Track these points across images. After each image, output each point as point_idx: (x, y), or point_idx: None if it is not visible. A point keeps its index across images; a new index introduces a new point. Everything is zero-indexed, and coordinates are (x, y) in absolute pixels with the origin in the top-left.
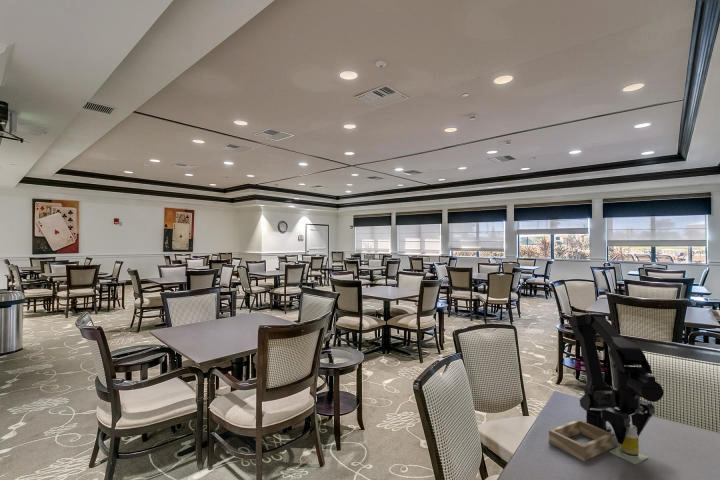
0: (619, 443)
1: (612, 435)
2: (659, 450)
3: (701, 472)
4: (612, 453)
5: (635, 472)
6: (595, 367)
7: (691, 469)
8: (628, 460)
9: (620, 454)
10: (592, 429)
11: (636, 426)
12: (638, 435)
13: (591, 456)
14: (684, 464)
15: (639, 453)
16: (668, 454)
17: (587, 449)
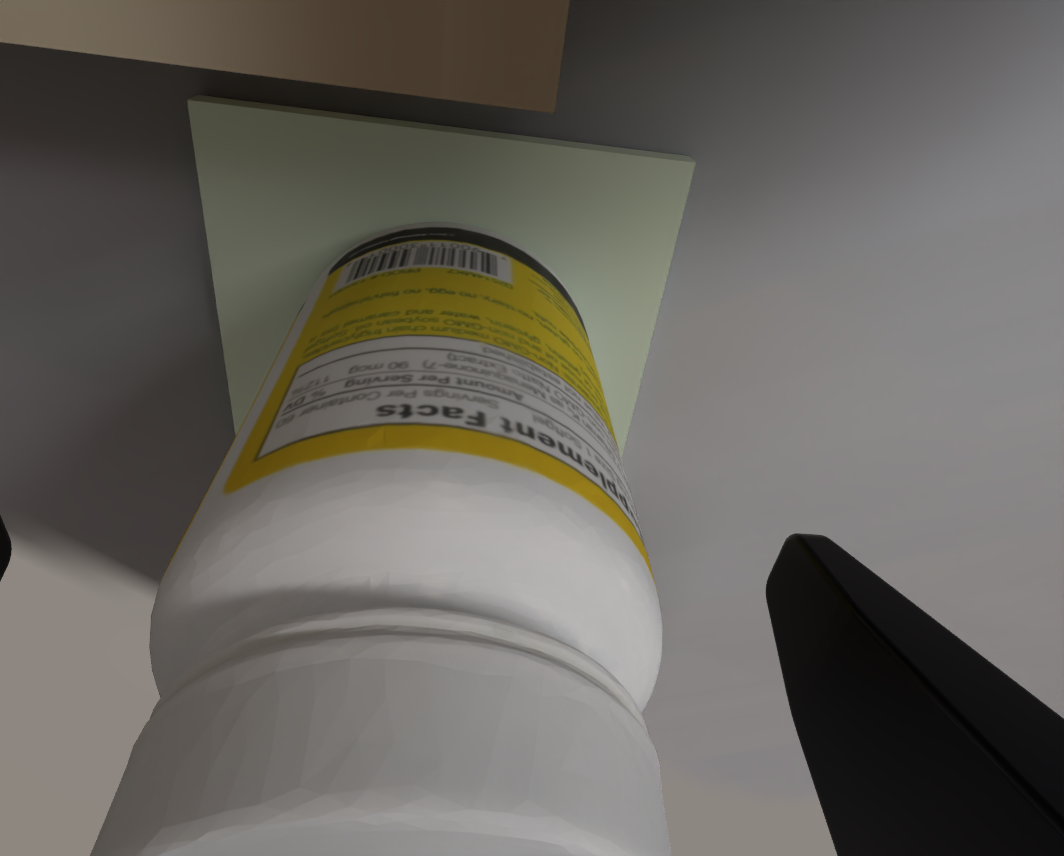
0: (303, 328)
1: (465, 99)
2: (976, 514)
3: (718, 776)
4: (206, 158)
5: (51, 538)
6: None
7: (711, 740)
8: (236, 414)
9: (285, 284)
10: None
11: (913, 804)
12: (773, 627)
13: None
14: (775, 700)
15: (617, 436)
16: (922, 587)
17: None
